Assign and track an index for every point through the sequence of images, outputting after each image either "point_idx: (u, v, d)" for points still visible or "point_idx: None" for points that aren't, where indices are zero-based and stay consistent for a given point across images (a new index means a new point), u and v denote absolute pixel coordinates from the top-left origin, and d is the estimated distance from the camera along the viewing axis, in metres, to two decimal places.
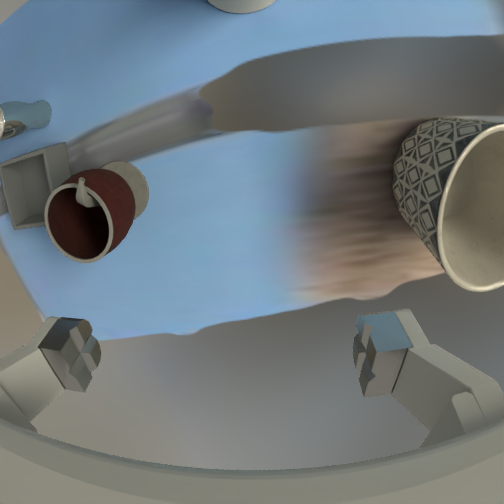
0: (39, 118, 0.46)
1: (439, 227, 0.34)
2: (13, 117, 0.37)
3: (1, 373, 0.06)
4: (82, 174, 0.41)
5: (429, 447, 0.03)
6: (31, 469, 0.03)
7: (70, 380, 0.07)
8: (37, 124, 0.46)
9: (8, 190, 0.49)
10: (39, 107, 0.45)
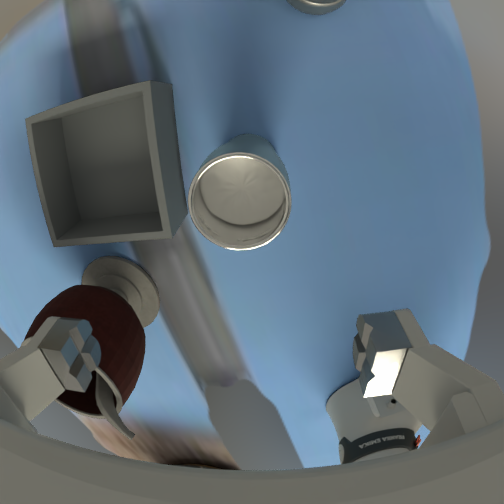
0: None
1: None
2: None
3: (1, 373, 0.06)
4: (133, 374, 0.29)
5: (429, 447, 0.03)
6: (31, 469, 0.03)
7: (70, 380, 0.07)
8: None
9: (93, 103, 0.24)
10: None
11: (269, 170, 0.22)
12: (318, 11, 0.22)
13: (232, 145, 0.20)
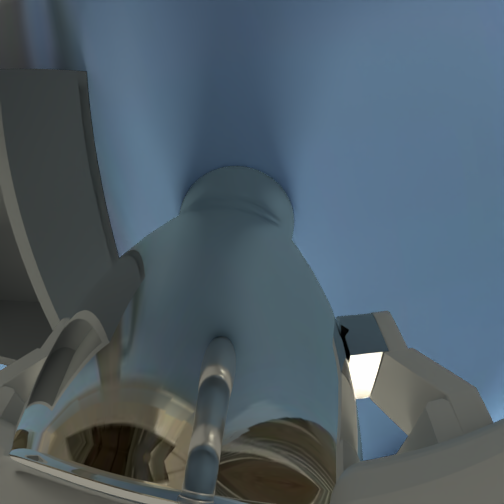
0: None
1: None
2: None
3: (15, 377, 0.06)
4: None
5: (429, 447, 0.03)
6: None
7: None
8: None
9: None
10: None
11: None
12: None
13: (123, 321, 0.04)
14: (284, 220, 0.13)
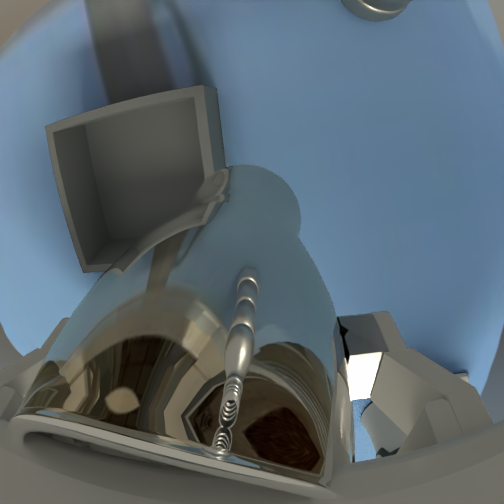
0: None
1: None
2: None
3: (15, 377, 0.06)
4: None
5: (429, 447, 0.03)
6: (31, 469, 0.03)
7: None
8: None
9: (130, 109, 0.22)
10: None
11: None
12: (378, 18, 0.20)
13: (130, 294, 0.05)
14: (289, 216, 0.14)
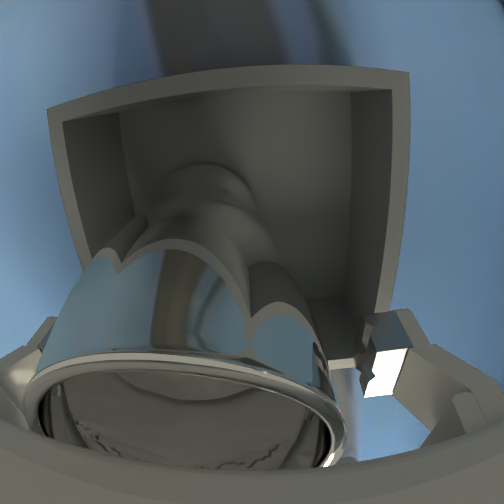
0: None
1: None
2: None
3: (1, 373, 0.06)
4: None
5: (429, 447, 0.03)
6: (31, 469, 0.03)
7: None
8: None
9: (246, 88, 0.11)
10: None
11: None
12: None
13: (128, 260, 0.06)
14: (246, 206, 0.15)
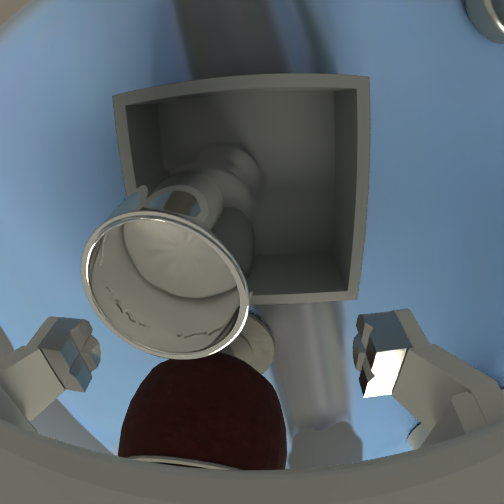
0: None
1: None
2: None
3: (1, 373, 0.06)
4: None
5: (429, 447, 0.03)
6: (31, 469, 0.03)
7: (70, 380, 0.07)
8: None
9: (258, 88, 0.16)
10: None
11: None
12: None
13: (150, 186, 0.11)
14: (247, 174, 0.20)
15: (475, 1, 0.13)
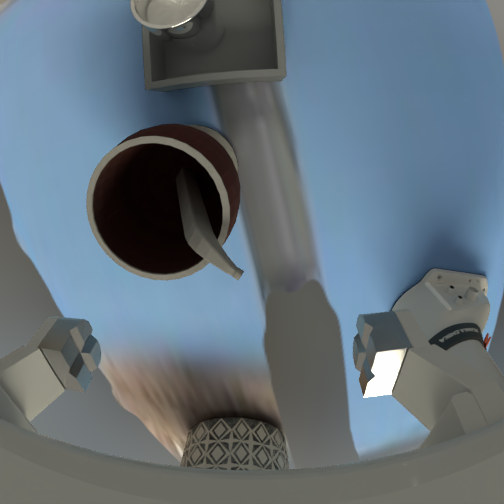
0: (184, 43, 0.29)
1: None
2: (175, 35, 0.21)
3: (1, 373, 0.06)
4: (237, 206, 0.28)
5: (429, 447, 0.03)
6: (31, 469, 0.03)
7: (70, 380, 0.07)
8: None
9: None
10: (205, 42, 0.29)
11: None
12: None
13: None
14: None
15: None
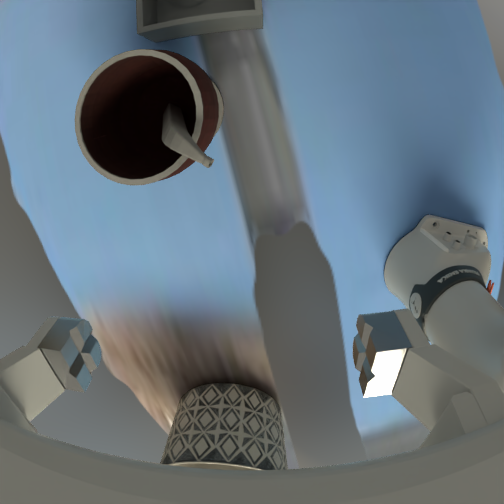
0: None
1: (201, 463, 0.42)
2: None
3: (1, 373, 0.06)
4: (214, 115, 0.27)
5: (429, 447, 0.03)
6: (31, 469, 0.03)
7: (70, 380, 0.07)
8: None
9: None
10: None
11: None
12: None
13: None
14: None
15: None
